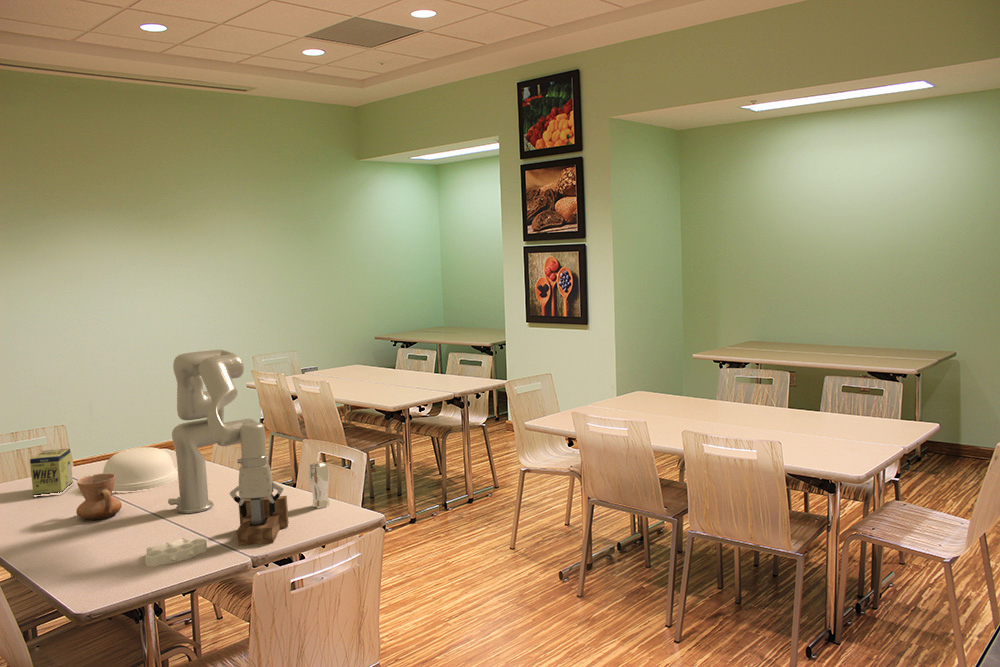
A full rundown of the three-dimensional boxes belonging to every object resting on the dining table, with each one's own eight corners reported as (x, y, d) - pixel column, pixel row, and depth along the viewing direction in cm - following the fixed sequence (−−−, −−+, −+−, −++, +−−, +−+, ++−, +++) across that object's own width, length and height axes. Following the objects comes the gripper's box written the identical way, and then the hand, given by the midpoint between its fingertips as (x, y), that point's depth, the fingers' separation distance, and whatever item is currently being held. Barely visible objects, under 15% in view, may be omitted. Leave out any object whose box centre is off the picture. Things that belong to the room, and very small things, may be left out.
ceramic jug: (70, 516, 282) (66, 478, 280) (112, 506, 292) (109, 469, 290) (87, 528, 269) (83, 488, 267) (131, 516, 279) (127, 478, 278)
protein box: (33, 498, 308) (29, 459, 306) (45, 487, 323) (42, 450, 321) (62, 495, 310) (58, 456, 309) (73, 484, 325) (70, 448, 324)
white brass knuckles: (194, 542, 250) (214, 554, 240) (135, 559, 238) (153, 572, 227) (193, 532, 250) (213, 543, 239) (134, 548, 238) (152, 560, 227)
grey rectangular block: (252, 537, 249) (250, 500, 248) (256, 530, 255) (254, 494, 254) (262, 536, 249) (259, 499, 248) (266, 530, 255) (263, 494, 254)
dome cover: (167, 469, 346) (164, 437, 344) (192, 481, 323) (189, 448, 322) (87, 485, 325) (84, 451, 323) (108, 499, 302) (105, 463, 301)
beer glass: (334, 503, 285) (332, 462, 283) (324, 509, 278) (321, 467, 277) (317, 502, 287) (315, 461, 286) (307, 508, 280) (304, 466, 279)
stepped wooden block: (230, 546, 244) (228, 515, 244) (242, 528, 261) (240, 498, 260) (280, 542, 246) (278, 511, 245) (288, 524, 263) (286, 495, 262)
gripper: (223, 466, 245) (227, 521, 247) (280, 462, 247) (284, 517, 249) (229, 460, 253) (233, 513, 254) (284, 457, 255) (288, 509, 256)
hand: (258, 515), depth 252 cm, fingers open, 8 cm apart
